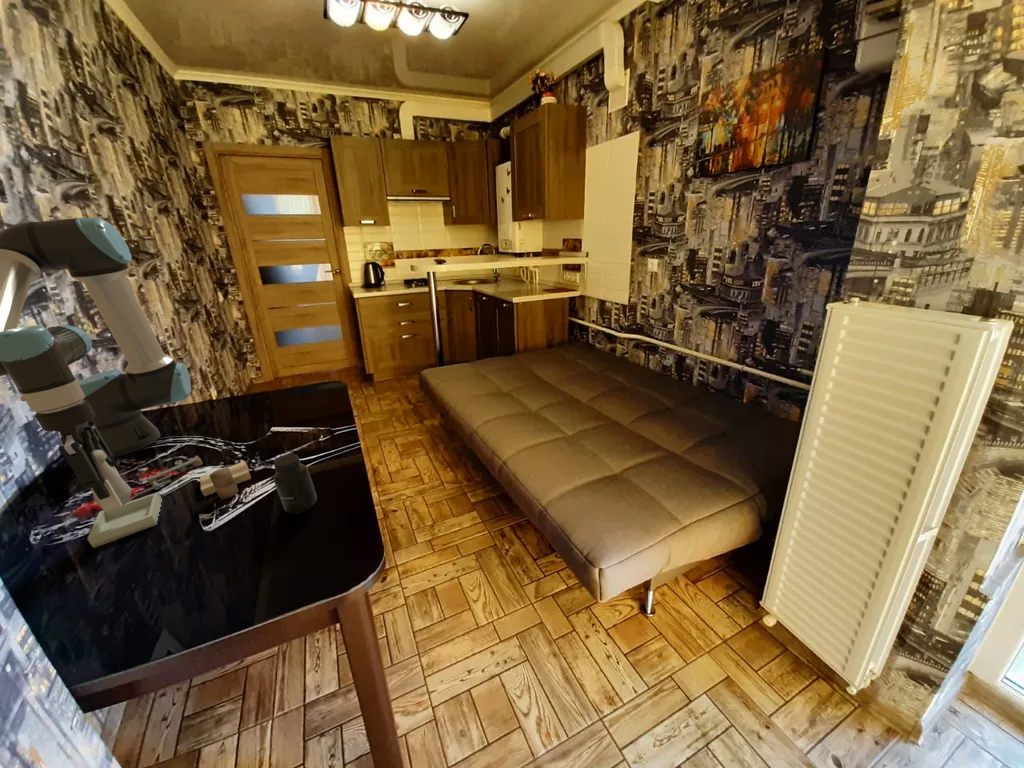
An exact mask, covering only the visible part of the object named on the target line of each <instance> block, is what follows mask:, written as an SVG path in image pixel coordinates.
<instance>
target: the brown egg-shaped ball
mask: <svg viewBox="0 0 1024 768" xmlns="http://www.w3.org/2000/svg"><path fill="white" fill-rule="evenodd" d="M209 474H210V479H211V481H212V483H213V485H214V487H215V489H216V491H217V492H216V493H217V495H218V498H219V499H220V498H221V499H222V500H224V499H229V498H231V497H233V496H235V495H236V494H238V492H239V488H238V484H236V483H235V481H234V478H233V476H232V474H231V472H230V469H229V468H227V467H222V468H219V469H217V470H214V471H213V472H211V473H209Z"/></svg>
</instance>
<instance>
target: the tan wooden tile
mask: <svg viewBox="0 0 1024 768" xmlns="http://www.w3.org/2000/svg"><path fill="white" fill-rule="evenodd" d="M226 468H229V469H230V472H231V474H232V476H233V478H234V481H235V483H236V485H239V484H240V483H243V482H246V481H248V480H250V479H252V477H251V474H250V471H249V467H248V464H247V462H246V461H245V460H244V461H241V462H239V463H236V464H233V465H230V466H227V467H226ZM210 474H211V473H209V474H205V475H203V476H200V477H199V481H200V491H201V493H202V495H203V496H204V497H207V496H210V495H212V494H215V493H217V491H216V489H215V487H214V485H213V483H212V481H211V479H210ZM214 492H215V493H214ZM209 494H210V495H209Z"/></svg>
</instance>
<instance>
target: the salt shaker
mask: <svg viewBox="0 0 1024 768" xmlns="http://www.w3.org/2000/svg"><path fill="white" fill-rule="evenodd" d="M93 454H94V456H95V458H96V461H97V463H98V465H99V467H100V470H101V472H102V474H103V477H104V479H105V480H108V481H109V483H110V485H111V486H112V488H113V490H114V491H115V493H116V495H117V496H118V498H119V500H120V501H121V503H122V506H123V505H125V504H126V503H128V502H130V501H131V496H132V495H131V494H132V487H131V486H130V485H128V483H127V482H126V481H125V480H124V479H123V478H122V477H121V475H120V474H119V475H120V476H119V475H118V474H117V473H116V472H115V471H114V470H113V469H112V468H111V467H110V466H109V465H108V464H107V462H106V461H105V460H106V458H107V456H106V454H105V453H104V452H103V451H102V450H94V451H93ZM91 493H92V496H93V499H94V501H95V502H94V503H96V504H97V505H98V506H100V507H102V506H101V505H100V503H99V501H98V500H97V498H96V497H95V495H94V493H93V492H92V491H91ZM122 506H121V507H122ZM118 508H119V507H118ZM115 509H116V508H115Z"/></svg>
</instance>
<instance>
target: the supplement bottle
mask: <svg viewBox="0 0 1024 768" xmlns="http://www.w3.org/2000/svg"><path fill="white" fill-rule="evenodd" d="M273 466H274V470H275V474H274V476H273V482H274V486H275V488H276V491H277V493H278V496H279V498H280V501H281V504H282V506H283V509H284V511H285V512H286V513H288V514H290V515H291V514H292V515H293V514H294V515H296V514H301V513H303V512H306V511H308V510H310V509H311V508H312V507H313V506H315V504H316V503H317V499H318V496H317V493H316V490H315V486H314V483H313V480H312V477H311V474H310V471H309V469H308V467H307V466H306V465H305V464H303V463H302V462H301V461H300V458H299V456H298V454H294V453H289V454H286V455H282V456H281V457H278V458H277V459H276V460H275V461H274V462H273Z"/></svg>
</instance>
